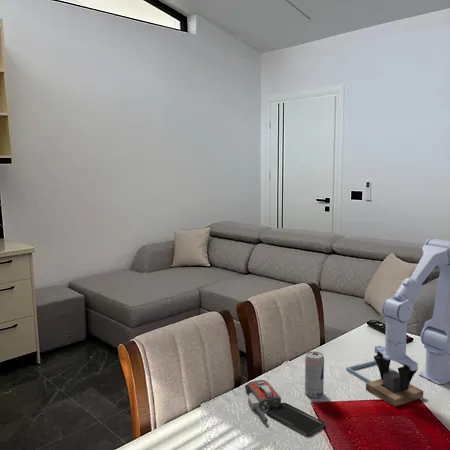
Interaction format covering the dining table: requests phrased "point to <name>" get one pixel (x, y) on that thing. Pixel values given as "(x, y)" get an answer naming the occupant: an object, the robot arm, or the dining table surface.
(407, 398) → the socket block
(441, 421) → the dining table surface
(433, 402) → the dining table surface
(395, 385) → the plug
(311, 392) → the energy drink
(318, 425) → the phone
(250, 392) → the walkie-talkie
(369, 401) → the dining table surface
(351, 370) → the frame
